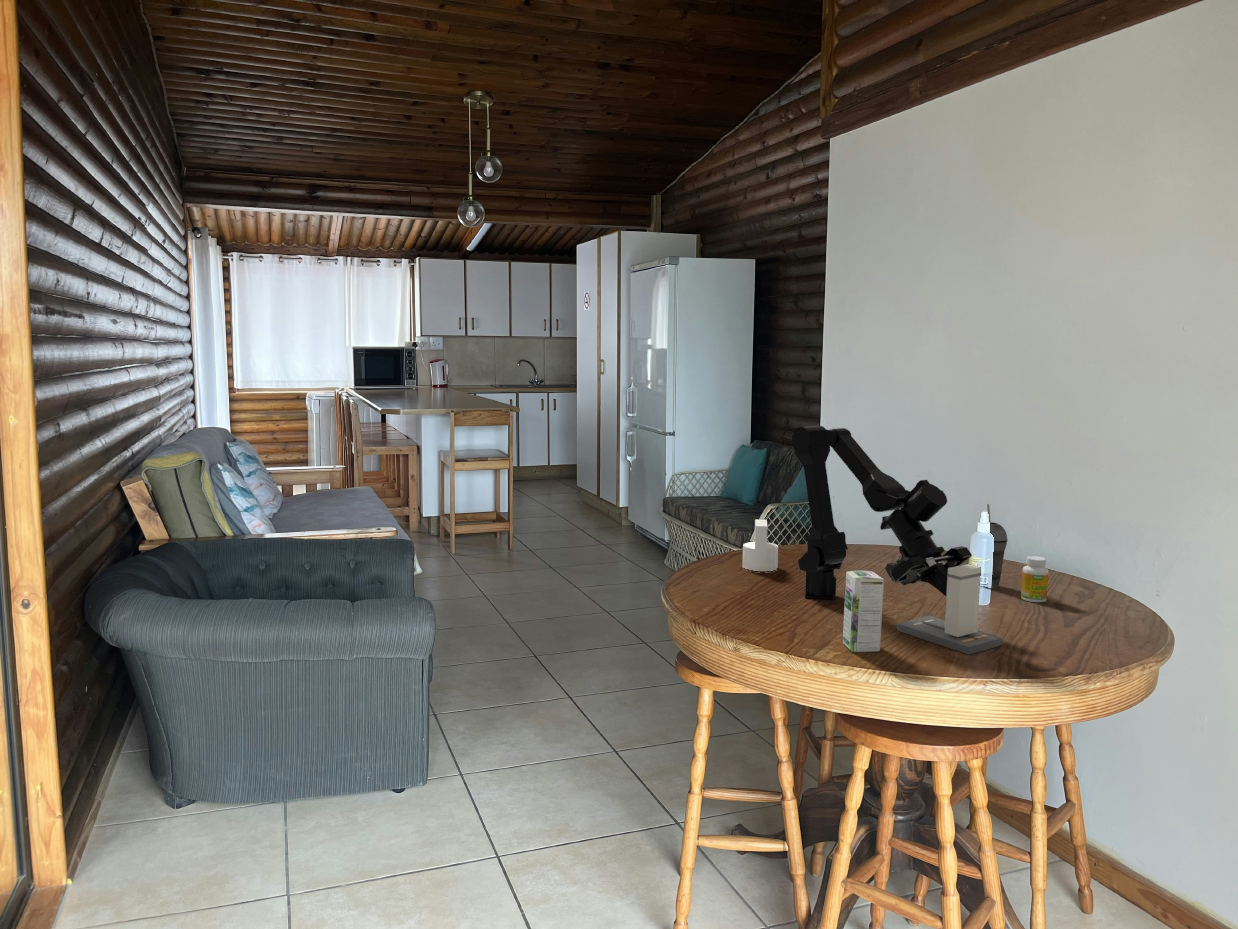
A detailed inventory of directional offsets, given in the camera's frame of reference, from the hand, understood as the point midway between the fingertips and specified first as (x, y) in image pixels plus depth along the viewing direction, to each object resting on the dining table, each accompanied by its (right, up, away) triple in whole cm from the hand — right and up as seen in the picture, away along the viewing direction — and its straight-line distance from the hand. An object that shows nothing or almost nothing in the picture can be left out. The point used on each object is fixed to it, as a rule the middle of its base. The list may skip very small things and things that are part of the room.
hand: (954, 599), depth 178 cm
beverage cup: (+23, -3, +41) cm, 47 cm away
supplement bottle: (+29, -4, +29) cm, 41 cm away
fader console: (-1, -8, +2) cm, 8 cm away
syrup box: (-19, -9, -4) cm, 22 cm away
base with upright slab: (-29, -1, +57) cm, 64 cm away
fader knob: (+1, -6, -1) cm, 6 cm away
